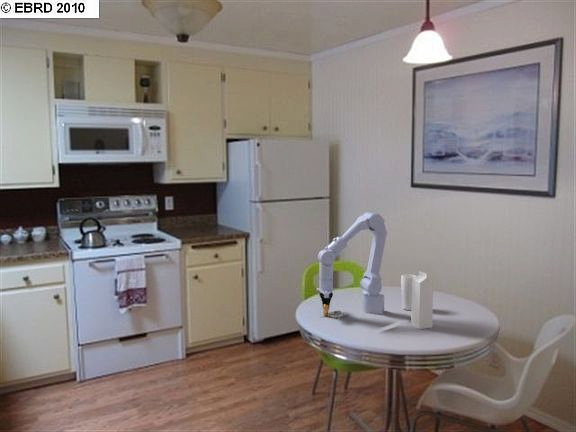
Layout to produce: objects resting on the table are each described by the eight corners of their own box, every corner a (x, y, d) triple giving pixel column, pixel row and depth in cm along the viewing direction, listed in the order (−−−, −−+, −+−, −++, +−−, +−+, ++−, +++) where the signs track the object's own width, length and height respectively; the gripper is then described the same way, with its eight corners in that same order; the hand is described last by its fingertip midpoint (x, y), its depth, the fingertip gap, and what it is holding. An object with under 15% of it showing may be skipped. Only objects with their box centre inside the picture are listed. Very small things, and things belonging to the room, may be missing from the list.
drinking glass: (399, 310, 215) (399, 277, 214) (401, 305, 222) (402, 273, 220) (415, 311, 213) (415, 278, 211) (417, 307, 219) (417, 274, 217)
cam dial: (345, 312, 208) (346, 301, 208) (348, 318, 200) (348, 307, 200) (322, 313, 208) (322, 301, 207) (324, 319, 200) (324, 307, 199)
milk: (419, 329, 191) (419, 274, 188) (410, 324, 196) (411, 271, 194) (432, 327, 192) (433, 273, 190) (424, 322, 198) (425, 270, 196)
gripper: (316, 274, 211) (316, 304, 213) (316, 282, 197) (316, 315, 198) (332, 274, 211) (332, 304, 212) (334, 282, 196) (334, 315, 198)
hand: (326, 309), depth 205 cm, fingers closed
